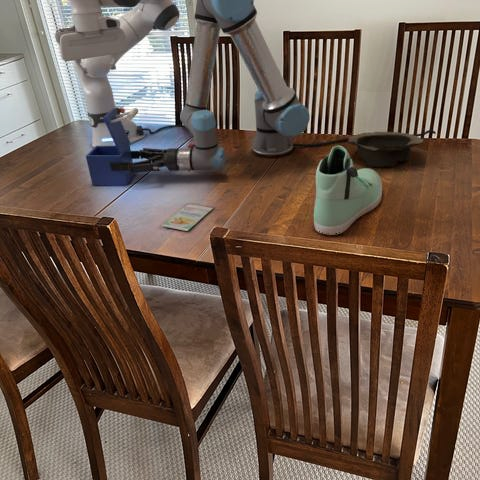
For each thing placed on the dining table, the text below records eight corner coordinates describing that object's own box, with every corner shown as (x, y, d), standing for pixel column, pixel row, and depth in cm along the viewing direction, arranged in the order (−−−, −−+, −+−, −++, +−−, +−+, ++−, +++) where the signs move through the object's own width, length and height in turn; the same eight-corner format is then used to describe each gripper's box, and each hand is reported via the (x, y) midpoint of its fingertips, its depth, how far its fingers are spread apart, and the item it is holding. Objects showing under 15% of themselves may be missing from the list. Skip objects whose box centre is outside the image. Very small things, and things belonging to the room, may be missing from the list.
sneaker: (389, 187, 148) (396, 123, 138) (356, 242, 123) (361, 168, 112) (346, 181, 154) (350, 119, 144) (306, 232, 129) (307, 161, 118)
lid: (102, 117, 152) (127, 110, 150) (112, 108, 160) (136, 101, 158) (119, 154, 158) (144, 148, 156) (128, 144, 166) (151, 138, 164)
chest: (92, 185, 166) (85, 156, 160) (101, 173, 174) (95, 145, 168) (126, 185, 164) (121, 156, 158) (134, 173, 172) (129, 145, 166)
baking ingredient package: (160, 225, 137) (188, 203, 148) (161, 226, 137) (188, 204, 148) (187, 230, 133) (213, 207, 145) (187, 231, 133) (213, 208, 145)
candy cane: (169, 157, 184) (168, 153, 183) (194, 144, 194) (193, 140, 193) (180, 159, 181) (180, 155, 180) (205, 146, 191) (205, 142, 190)
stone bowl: (380, 178, 154) (381, 150, 149) (333, 160, 174) (332, 135, 170) (437, 159, 162) (439, 132, 158) (385, 144, 183) (386, 120, 178)
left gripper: (54, 29, 136) (67, 79, 143) (124, 20, 143) (133, 68, 150) (51, 27, 141) (63, 75, 148) (119, 18, 148) (127, 65, 155)
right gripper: (173, 183, 154) (107, 184, 157) (188, 157, 173) (128, 158, 176) (169, 161, 150) (102, 163, 154) (185, 137, 169) (124, 139, 172)
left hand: (99, 71), depth 149 cm, fingers open, 7 cm apart
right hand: (116, 160), depth 165 cm, fingers closed on chest, 9 cm apart
